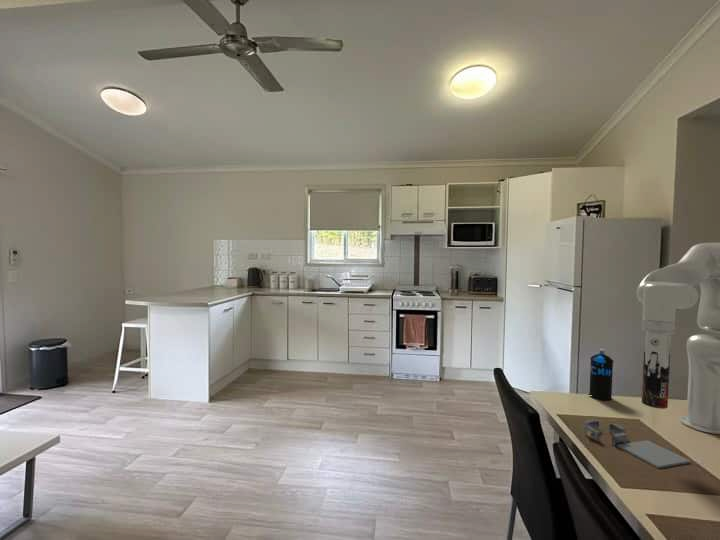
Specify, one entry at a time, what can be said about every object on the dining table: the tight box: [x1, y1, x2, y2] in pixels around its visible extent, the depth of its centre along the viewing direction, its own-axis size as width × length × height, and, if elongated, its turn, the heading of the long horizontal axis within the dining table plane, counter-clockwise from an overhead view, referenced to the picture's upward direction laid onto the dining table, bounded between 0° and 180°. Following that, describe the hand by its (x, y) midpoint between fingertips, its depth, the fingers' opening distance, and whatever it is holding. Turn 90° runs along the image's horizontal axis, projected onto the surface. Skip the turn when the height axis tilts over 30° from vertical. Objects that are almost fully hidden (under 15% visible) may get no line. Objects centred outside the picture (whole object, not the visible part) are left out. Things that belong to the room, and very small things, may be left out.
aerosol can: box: [588, 348, 615, 402], centre depth 155 cm, size 8×8×20 cm
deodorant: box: [641, 350, 671, 410], centre depth 109 cm, size 6×6×15 cm
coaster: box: [616, 439, 691, 469], centre depth 110 cm, size 12×12×1 cm
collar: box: [584, 419, 628, 447], centre depth 120 cm, size 13×11×3 cm
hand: (655, 387), depth 109 cm, fingers closed on deodorant, 5 cm apart
